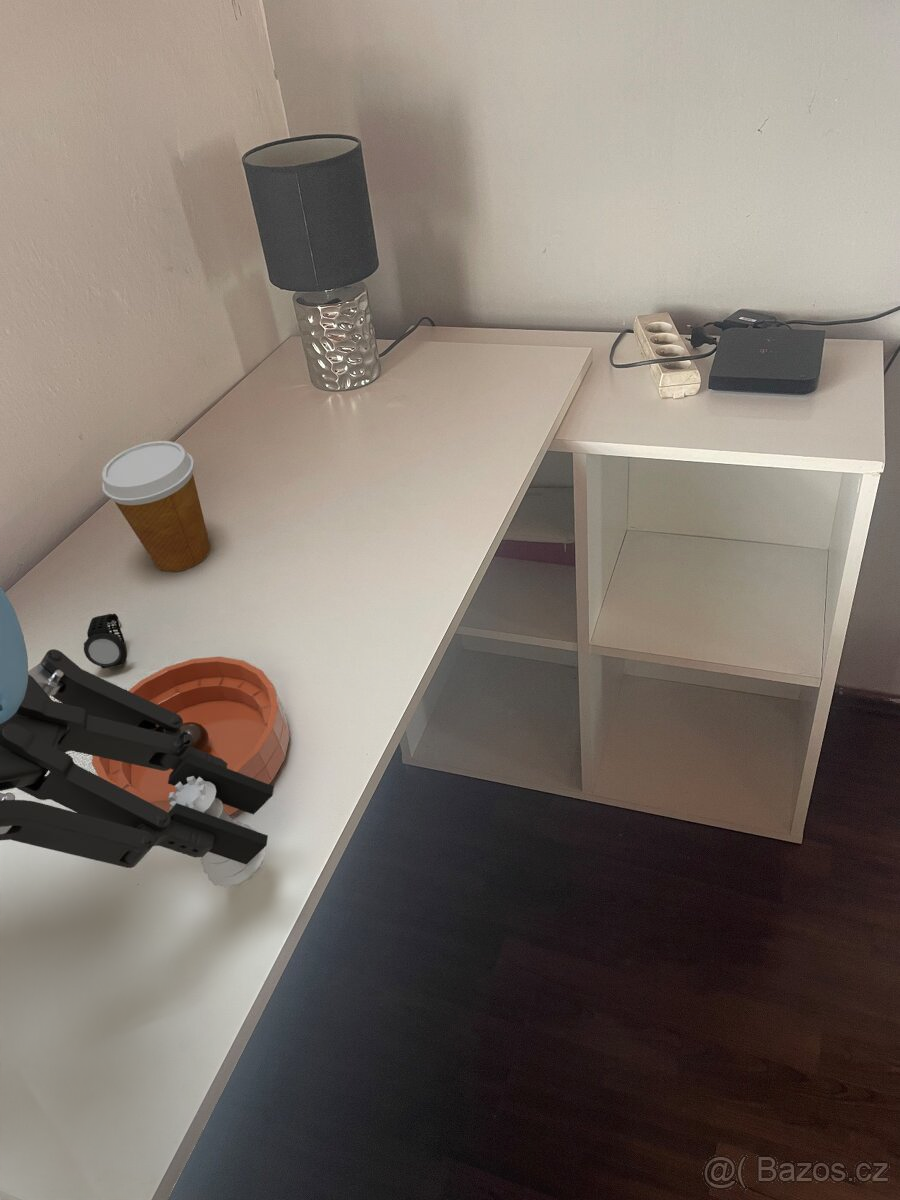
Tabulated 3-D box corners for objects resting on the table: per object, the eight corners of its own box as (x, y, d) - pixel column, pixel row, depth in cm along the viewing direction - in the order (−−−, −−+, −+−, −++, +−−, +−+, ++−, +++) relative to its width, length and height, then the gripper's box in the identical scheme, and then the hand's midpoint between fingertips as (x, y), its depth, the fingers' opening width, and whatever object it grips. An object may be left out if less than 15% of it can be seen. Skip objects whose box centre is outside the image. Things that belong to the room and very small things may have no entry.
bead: (200, 766, 71) (189, 737, 70) (171, 764, 73) (159, 735, 71) (220, 744, 74) (209, 715, 73) (191, 741, 75) (180, 713, 74)
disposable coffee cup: (141, 541, 100) (99, 452, 92) (222, 520, 101) (188, 430, 93) (139, 591, 93) (94, 499, 85) (227, 567, 94) (190, 474, 86)
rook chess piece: (278, 861, 60) (228, 788, 56) (223, 903, 59) (166, 831, 54) (253, 825, 64) (204, 754, 59) (201, 864, 62) (145, 794, 57)
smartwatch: (89, 676, 83) (67, 639, 80) (116, 639, 87) (96, 602, 84) (127, 679, 82) (106, 641, 79) (152, 641, 86) (133, 604, 83)
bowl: (235, 853, 66) (217, 819, 63) (77, 813, 71) (53, 780, 68) (320, 706, 76) (307, 670, 73) (176, 680, 81) (159, 646, 78)
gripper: (-69, 633, 57) (248, 758, 67) (-195, 849, 45) (216, 963, 55) (-32, 560, 53) (298, 704, 64) (-158, 774, 41) (276, 911, 51)
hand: (259, 824), depth 59 cm, fingers closed on rook chess piece, 3 cm apart
